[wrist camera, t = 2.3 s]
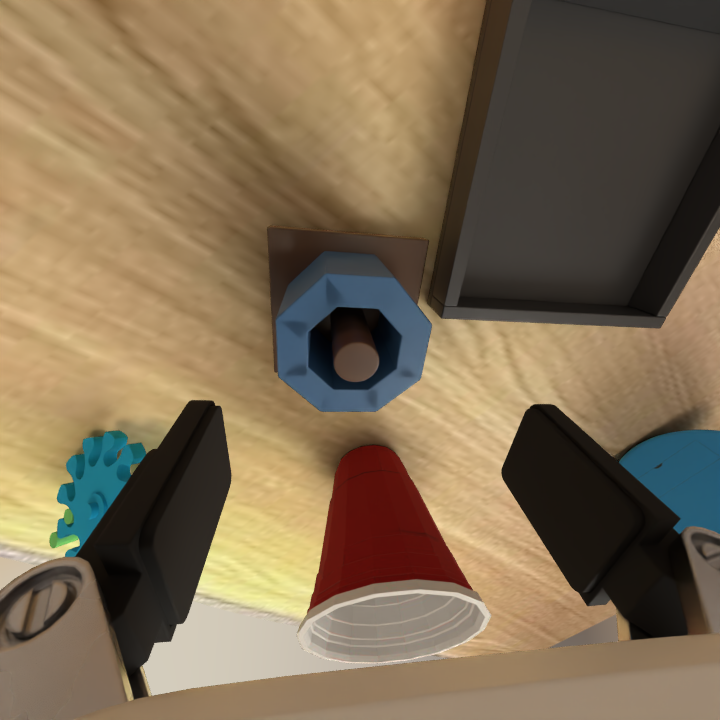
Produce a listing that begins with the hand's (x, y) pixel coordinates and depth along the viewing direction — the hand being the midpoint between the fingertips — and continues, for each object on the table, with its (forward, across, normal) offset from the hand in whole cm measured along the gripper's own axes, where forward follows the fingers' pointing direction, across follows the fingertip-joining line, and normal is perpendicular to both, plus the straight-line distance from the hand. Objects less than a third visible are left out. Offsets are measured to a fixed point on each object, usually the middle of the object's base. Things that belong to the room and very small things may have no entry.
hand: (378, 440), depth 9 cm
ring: (+11, 0, 0) cm, 11 cm away
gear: (+12, +16, +14) cm, 25 cm away
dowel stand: (+12, 0, 0) cm, 12 cm away
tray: (+12, -13, -8) cm, 19 cm away
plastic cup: (+12, -3, +15) cm, 19 cm away
